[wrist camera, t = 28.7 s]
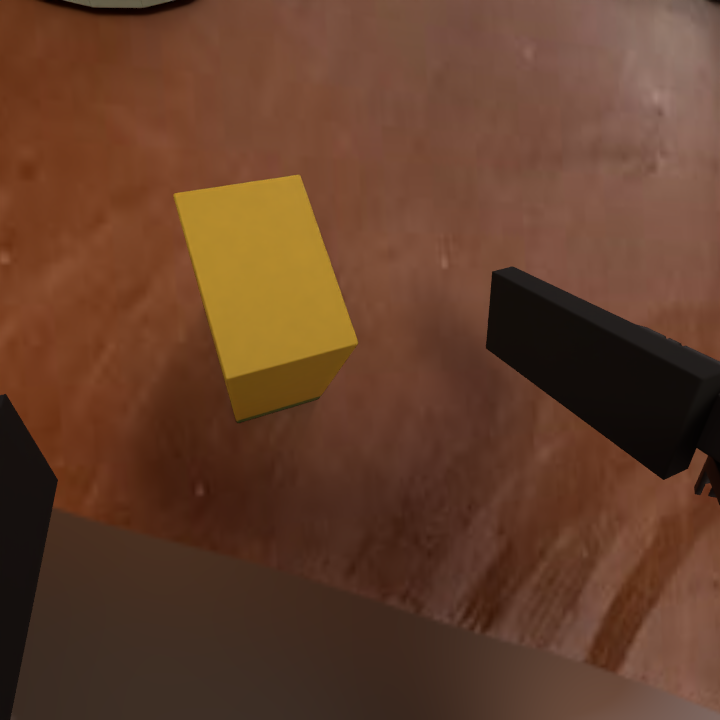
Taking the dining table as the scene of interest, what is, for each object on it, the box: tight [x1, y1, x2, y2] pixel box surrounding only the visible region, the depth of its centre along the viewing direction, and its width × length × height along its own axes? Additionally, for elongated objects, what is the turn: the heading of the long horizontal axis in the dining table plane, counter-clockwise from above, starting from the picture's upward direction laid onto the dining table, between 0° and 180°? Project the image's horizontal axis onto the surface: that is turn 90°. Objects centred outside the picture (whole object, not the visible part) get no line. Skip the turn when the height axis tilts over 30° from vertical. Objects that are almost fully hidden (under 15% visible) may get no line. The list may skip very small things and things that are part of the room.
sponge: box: [174, 175, 358, 423], centre depth 18 cm, size 4×6×9 cm, turn 19°
